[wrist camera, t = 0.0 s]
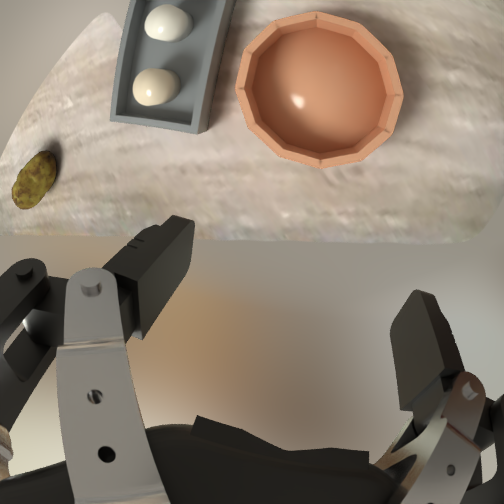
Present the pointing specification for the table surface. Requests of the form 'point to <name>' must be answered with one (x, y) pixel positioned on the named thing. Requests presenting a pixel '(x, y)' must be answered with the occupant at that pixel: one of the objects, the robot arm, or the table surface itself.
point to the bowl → (319, 89)
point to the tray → (172, 65)
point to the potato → (34, 180)
